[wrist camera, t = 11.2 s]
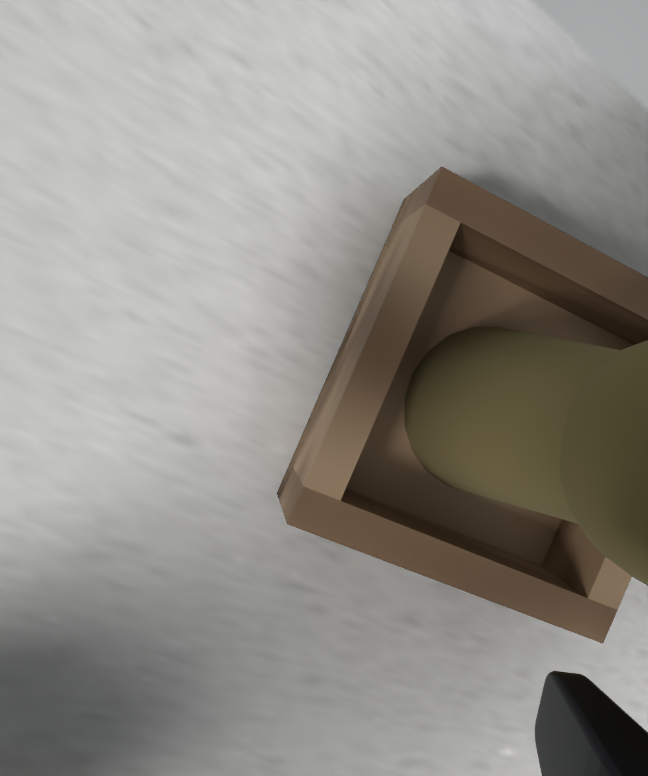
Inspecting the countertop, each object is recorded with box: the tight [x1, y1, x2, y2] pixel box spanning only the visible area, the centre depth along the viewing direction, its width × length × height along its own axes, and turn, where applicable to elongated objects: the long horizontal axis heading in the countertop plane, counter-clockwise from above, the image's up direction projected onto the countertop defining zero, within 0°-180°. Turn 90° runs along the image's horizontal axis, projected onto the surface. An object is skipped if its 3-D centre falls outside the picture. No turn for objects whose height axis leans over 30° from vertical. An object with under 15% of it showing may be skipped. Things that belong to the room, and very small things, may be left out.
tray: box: [277, 167, 648, 643], centre depth 19 cm, size 11×11×4 cm
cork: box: [404, 327, 648, 585], centre depth 14 cm, size 6×6×11 cm
